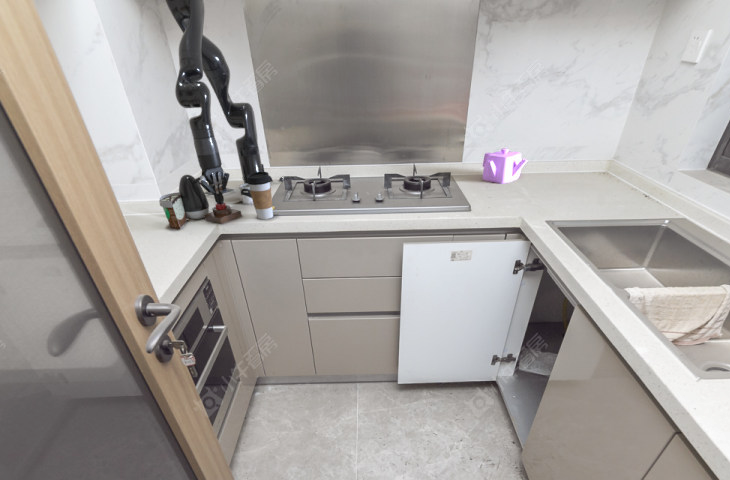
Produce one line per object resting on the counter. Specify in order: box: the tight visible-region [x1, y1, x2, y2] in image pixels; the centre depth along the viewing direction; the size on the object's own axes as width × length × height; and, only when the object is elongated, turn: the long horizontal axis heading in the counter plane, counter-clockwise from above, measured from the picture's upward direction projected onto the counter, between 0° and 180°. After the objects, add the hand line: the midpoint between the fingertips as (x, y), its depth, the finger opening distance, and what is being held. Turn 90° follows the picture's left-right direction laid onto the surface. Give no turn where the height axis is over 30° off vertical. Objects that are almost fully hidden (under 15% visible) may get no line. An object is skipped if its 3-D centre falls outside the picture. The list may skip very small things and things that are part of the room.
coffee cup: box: [247, 171, 274, 220], centre depth 155 cm, size 8×8×15 cm
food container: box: [159, 191, 189, 230], centre depth 153 cm, size 12×6×10 cm, turn 2°
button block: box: [204, 204, 243, 225], centre depth 159 cm, size 10×9×4 cm
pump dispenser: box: [178, 174, 210, 220], centre depth 158 cm, size 10×10×15 cm
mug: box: [238, 183, 254, 206], centre depth 174 cm, size 10×7×7 cm, turn 87°
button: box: [214, 202, 227, 209], centre depth 157 cm, size 4×4×2 cm
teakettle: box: [482, 148, 528, 184], centre depth 187 cm, size 17×17×12 cm
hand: (220, 203), depth 157 cm, fingers closed
